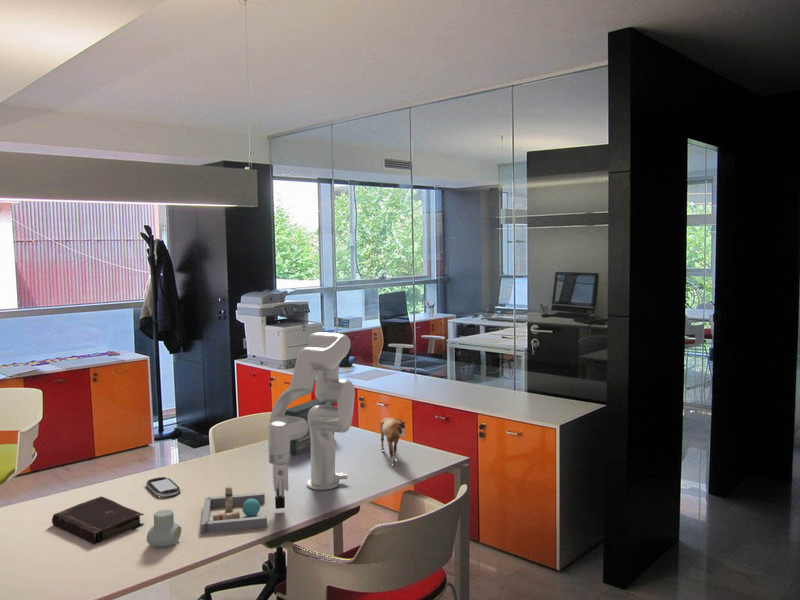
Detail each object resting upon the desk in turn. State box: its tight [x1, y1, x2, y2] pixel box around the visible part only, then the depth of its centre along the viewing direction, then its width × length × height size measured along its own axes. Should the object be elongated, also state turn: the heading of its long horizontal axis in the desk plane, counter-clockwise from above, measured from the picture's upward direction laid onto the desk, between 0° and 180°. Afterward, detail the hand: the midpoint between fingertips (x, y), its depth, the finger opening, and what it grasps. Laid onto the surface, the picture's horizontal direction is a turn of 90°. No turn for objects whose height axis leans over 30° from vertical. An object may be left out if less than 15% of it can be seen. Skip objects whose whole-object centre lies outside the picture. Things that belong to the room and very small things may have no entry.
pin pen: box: [200, 492, 268, 534], centre depth 224 cm, size 21×23×3 cm
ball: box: [241, 499, 261, 517], centre depth 224 cm, size 6×6×6 cm
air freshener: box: [146, 509, 182, 548], centre depth 203 cm, size 11×8×10 cm
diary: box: [51, 496, 145, 546], centre depth 217 cm, size 19×25×5 cm
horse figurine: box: [379, 416, 407, 465], centre depth 285 cm, size 31×8×21 cm, turn 10°
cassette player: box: [285, 398, 335, 456], centre depth 302 cm, size 29×7×20 cm, turn 150°
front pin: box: [212, 511, 241, 521], centre depth 220 cm, size 2×2×9 cm
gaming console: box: [145, 476, 181, 498], centre depth 249 cm, size 19×9×2 cm, turn 37°
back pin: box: [224, 485, 234, 514], centre depth 228 cm, size 2×2×9 cm
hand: (280, 507), depth 228 cm, fingers closed
